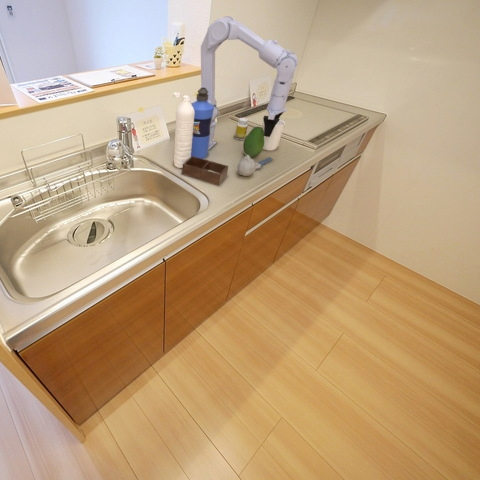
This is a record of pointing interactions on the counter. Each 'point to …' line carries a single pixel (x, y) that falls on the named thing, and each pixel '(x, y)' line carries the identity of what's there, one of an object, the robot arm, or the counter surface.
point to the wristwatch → (261, 163)
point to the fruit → (254, 142)
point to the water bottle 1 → (183, 131)
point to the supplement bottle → (241, 129)
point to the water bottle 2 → (201, 124)
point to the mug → (273, 136)
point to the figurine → (246, 166)
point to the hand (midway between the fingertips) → (268, 132)
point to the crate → (205, 170)
